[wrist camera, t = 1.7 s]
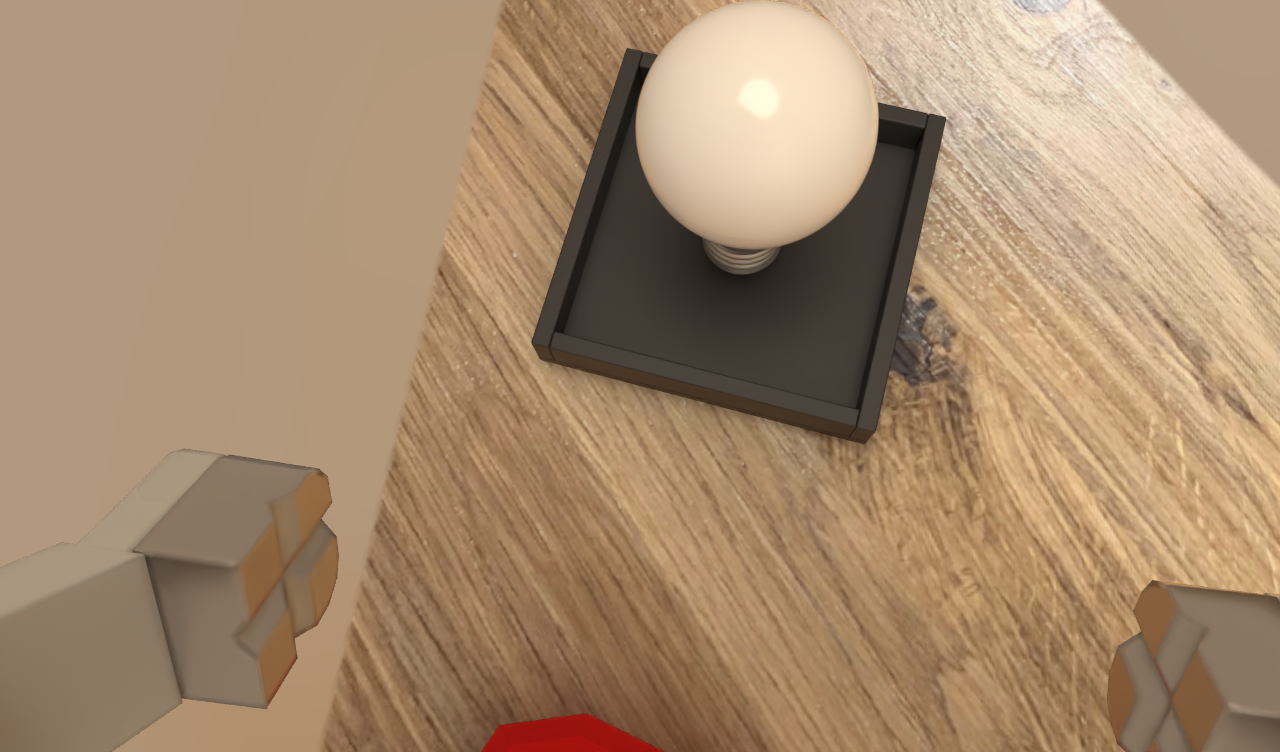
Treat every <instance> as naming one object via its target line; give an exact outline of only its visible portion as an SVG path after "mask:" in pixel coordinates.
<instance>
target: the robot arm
mask: <svg viewBox="0 0 1280 752" xmlns="http://www.w3.org/2000/svg"><path fill="white" fill-rule="evenodd" d="M331 503H332V498H331V493H330V487H329V481H328V476H327V475H325V474H324V473H323V472H322V471H321V470H320V469H317V468H311V467H305V466H298V465H292V464H285V463H279V462H273V461H265V460H260V459H253V458H247V457H240V456H234V455H228V456H226V455H223V454H217V453H211V452H204V451H197V450H190V449H182V450H178V451H174V452H171V453H169V454H168V455H167V456H166V457H165V458H164V459H163V460H162V461H161V462H160V463H159V464H158V465H157V466H156V467H155V468H154V469H153V470H152V471H151V472H150V473H149V474H148V475H147V476H146V477H145V478H144V479H143V480H142V481H141V482H140V483H139V484H138V485H137V486H136V487H134V488H133V489H132V491H130V493H128V494H127V495H126V496H125V497H124V498H123V500H121V501H120V502H119V503H118V504H117V505H116V506H115V507H114V508H113V509H112V510H111V511H110V512H109V513H108V514H107V515H106V516H105V517H104V518H103V519H102V520H101V521H100V522H99V523H98V524H97V525H96V526H95V527H94V528H93V529H92V530H91V531H90V532H89V533H88V534H87V535H86V536H85V537H84V538H83V539H82V540H80V541H79V542H78V543H77V544H70V543H63V542H61V543H59V544H57V545H54V546H52V547H49V548H47V549H44V550H42V551H39V552H37V553H34V554H32V555H29V556H27V557H24V558H22V559H19V560H17V561H14V562H12V563H9V564H7V565H4V566H2V567H0V752H112V751H114V750H115V749H116V748H118V747H120V746H121V745H123V744H124V743H125V742H126V741H128V740H129V739H131V738H132V737H134V736H135V735H137V734H138V733H140V732H141V731H143V730H144V729H145V728H147V727H148V726H150V725H151V724H153V723H154V722H156V721H157V720H158V719H160V718H161V717H163V716H164V715H166V714H167V713H169V712H170V711H171V710H173V709H174V708H176V707H177V706H178V705H180V704H181V703H182V698H184V699H191V700H199V701H207V702H215V703H223V704H230V705H238V706H246V707H254V708H262V709H267V707H268V705H269V704H270V702H271V700H272V699H273V697H274V696H275V694H276V692H277V691H278V689H279V687H280V686H281V684H282V682H283V681H284V679H285V678H286V676H287V674H288V672H289V671H290V669H291V668H292V666H293V664H294V663H295V661H296V660H297V652H296V646H295V639H294V638H296V637H298V636H299V635H301V634H303V633H305V632H306V631H308V630H310V629H312V628H313V627H315V626H317V625H318V623H319V621H320V619H321V618H322V616H323V614H324V612H325V611H326V609H327V607H328V605H329V603H330V599H331V596H332V593H333V590H334V587H335V583H336V579H337V573H338V559H339V554H338V545H337V537H336V535H335V534H334V533H333V532H332V531H331V530H330V528H329V527H328V526H327V525H326V524H325V523H324V521H323V520H322V519H321V518H322V517H323V515H324V514H325V512H326V511H327V509H328V508H329V506H330V505H331ZM1133 612H1134V615H1135V617H1136V619H1137V622H1138V624H1139V627H1140V629H1141V632H1140V633H1138V634H1137V635H1135V636H1133V637H1132V638H1130V639H1129V640H1127V641H1125V642H1124V643H1122V644H1121V645H1119V646H1118V649H1117V652H1116V654H1115V657H1114V660H1113V662H1112V665H1111V668H1110V671H1109V679H1108V692H1107V704H1108V711H1109V718H1110V723H1111V726H1112V729H1113V732H1114V735H1115V738H1116V741H1117V744H1118V745H1119V746H1120V747H1121V748H1122V749H1123V750H1124V751H1125V752H1280V594H1271V593H1265V594H1257V593H1249V592H1241V591H1233V590H1226V589H1218V588H1210V587H1202V586H1194V585H1187V584H1179V583H1171V582H1163V581H1155V580H1152V581H1151V582H1150V584H1149V585H1148V586H1147V587H1146V588H1145V589H1144V590H1143V591H1142V592H1141V595H1140V597H1139V599H1138V601H1137V604H1136V606H1135V608H1134V610H1133Z"/></svg>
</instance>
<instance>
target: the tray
mask: <svg viewBox="0 0 1280 752" xmlns="http://www.w3.org/2000/svg"><path fill="white" fill-rule="evenodd" d="M657 56H658V55H656V54H651V53H647V52H644V53H643V52H642V51H638V50H634V49H629V48H627V49H626V52H625V55H624V58H623V62H622V65H621V68H620V71H619V74H618V77H617V80H616V83H615V86H614V89H613V92H612V95H611V99H610V102H609V105H608V108H607V111H606V114H605V117H604V120H603V123H602V126H601V129H600V132H599V136H598V139H597V142H596V145H595V148H594V151H593V154H592V157H591V160H590V163H589V166H588V169H587V173H586V176H585V179H584V182H583V185H582V188H581V191H580V194H579V197H578V200H577V203H576V206H575V210H574V213H573V216H572V219H571V222H570V225H569V228H568V231H567V234H566V237H565V240H564V243H563V247H562V250H561V253H560V256H559V259H558V262H557V265H556V268H555V271H554V274H553V277H552V280H551V284H550V287H549V290H548V293H547V296H546V299H545V302H544V305H543V308H542V311H541V314H540V317H539V321H538V324H537V327H536V330H535V333H534V336H533V339H532V345H533V347H534V348H535V350H536V352H537V354H538V356H539V358H540V359H541V360H544V361H548V362H552V363H556V364H560V365H564V366H567V367H571V368H575V369H579V370H583V371H587V372H590V373H594V374H598V375H602V376H606V377H610V378H613V379H617V380H621V381H625V382H629V383H633V384H636V385H640V386H644V387H648V388H652V389H656V390H659V391H663V392H667V393H671V394H675V395H679V396H682V397H686V398H690V399H694V400H698V401H702V402H705V403H709V404H713V405H717V406H721V407H725V408H728V409H732V410H736V411H740V412H744V413H748V414H751V415H755V416H759V417H763V418H767V419H771V420H774V421H778V422H782V423H786V424H790V425H794V426H797V427H801V428H805V429H809V430H813V431H817V432H820V433H824V434H828V435H832V436H836V437H840V438H843V439H847V440H851V441H855V442H859V443H863V444H865V443H866V442H867V441H868V439H869V438H870V437H871V436H872V435H873V434H874V433H875V431H876V427H877V423H878V419H879V414H880V410H881V405H882V401H883V396H884V392H885V388H886V383H887V379H888V374H889V370H890V365H891V361H892V357H893V352H894V348H895V343H896V339H897V334H898V330H899V326H900V321H901V317H902V312H903V308H904V303H905V299H906V295H907V290H908V286H909V281H910V277H911V272H912V268H913V264H914V259H915V255H916V250H917V246H918V241H919V237H920V233H921V228H922V224H923V219H924V215H925V210H926V206H927V202H928V197H929V193H930V188H931V184H932V179H933V175H934V171H935V166H936V162H937V157H938V153H939V148H940V144H941V140H942V135H943V131H944V126H945V122H946V117H943V116H938V115H934V114H929V115H928V114H927V113H923V112H919V111H914V110H910V109H905V108H900V107H896V106H891V105H886V104H882V103H878V112H879V129H878V138H877V144H876V149H875V153H874V157H873V160H872V163H871V166H870V169H869V171H868V173H867V175H866V178H865V180H864V182H863V183H862V185H861V187H860V189H859V190H858V192H857V193H856V195H855V196H854V198H853V199H852V200H851V201H850V203H849V204H848V205H847V206H846V207H845V209H844V210H843V211H842V212H841V213H840V214H839V215H838V216H836V217H835V218H834V219H833V220H832V221H831V222H830V223H828V224H827V225H826V226H824V227H823V228H821V229H820V230H818V231H817V232H815V233H813V234H811V235H809V236H807V237H805V238H803V239H801V240H799V241H796V242H793V243H790V244H787V245H783V246H781V248H780V251H779V253H778V255H777V257H776V258H775V260H774V261H773V262H772V263H771V264H770V265H768V266H767V267H766V268H764V269H762V270H760V271H758V272H755V273H752V274H745V275H740V274H733V273H729V272H726V271H724V270H722V269H721V268H719V267H718V266H716V265H715V264H714V263H713V262H712V261H711V260H710V259H709V257H708V256H707V254H706V252H705V250H704V246H703V241H702V237H700V236H698V235H696V234H695V233H693V232H691V231H690V230H688V229H687V228H685V227H684V226H683V225H681V224H680V223H679V222H678V221H677V220H675V219H674V218H673V217H672V216H671V215H670V214H669V213H668V212H667V211H666V209H665V208H664V207H663V206H662V205H661V203H660V202H659V201H658V199H657V198H656V196H655V195H654V193H653V191H652V190H651V188H650V186H649V184H648V182H647V180H646V177H645V175H644V173H643V170H642V167H641V163H640V160H639V156H638V151H637V145H636V133H635V124H636V112H637V106H638V101H639V97H640V93H641V90H642V87H643V84H644V81H645V79H646V76H647V74H648V72H649V70H650V68H651V66H652V64H653V63H654V61H655V59H656V58H657Z"/></svg>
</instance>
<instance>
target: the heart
mask: <svg viewBox="0 0 1280 752" xmlns="http://www.w3.org/2000/svg"><path fill="white" fill-rule="evenodd" d="M482 752H664V751H662V750H660V749H658V748H656V747H654V746H652V745H650V744H648V743H646V742H644V741H642V740H640V739H638V738H636V737H634V736H632V735H630V734H628V733H626V732H624V731H622V730H620V729H618V728H616V727H614V726H612V725H610V724H608V723H606V722H604V721H602V720H600V719H598V718H596V717H594V716H592V715H590V714H578V715H571V716H564V717H557V718H550V719H542V720H535V721H528V722H521V723H514V724H507V725H499V727H498V728H497V730H496V731H495V733H494V734H493V736H492V737H491V738H490V740H489V741H488V743H487V744H486V746H485V747H484V749H483V750H482Z"/></svg>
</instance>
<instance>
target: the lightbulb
mask: <svg viewBox="0 0 1280 752" xmlns="http://www.w3.org/2000/svg"><path fill="white" fill-rule="evenodd" d="M878 129H879V112H878V103H877V97H876V92H875V88H874V84H873V81H872V78H871V76H870V73H869V71H868V68H867V66H866V64H865V62H864V61H863V59H862V57H861V55H860V54H859V52H858V51H857V49H856V48H855V47H854V45H853V44H852V43H851V42H850V41H849V39H848V38H847V37H846V36H845V35H844V34H843V33H842V32H841V31H840V30H839V29H838V28H836V27H835V26H834V25H833V24H831V23H830V22H829V21H827V20H826V19H824V18H823V17H821V16H820V15H818V14H816V13H814V12H812V11H810V10H808V9H806V8H803V7H800V6H797V5H794V4H791V3H786V2H782V1H775V0H746V1H740V2H735V3H731V4H727V5H724V6H721V7H718V8H715V9H713V10H711V11H709V12H707V13H705V14H703V15H701V16H699V17H698V18H696V19H694V20H693V21H691V22H690V23H689V24H687V25H686V26H685V27H683V28H682V29H681V30H680V31H679V32H678V33H677V34H676V35H675V36H674V37H673V38H672V39H671V40H670V41H669V42H668V43H667V44H666V45H665V47H664V48H663V49H662V50H661V52H660V53H659V55H658V56H657V58H656V59H655V61H654V63H653V64H652V66H651V68H650V70H649V72H648V74H647V76H646V79H645V81H644V84H643V87H642V90H641V93H640V97H639V101H638V106H637V112H636V124H635V133H636V145H637V151H638V156H639V160H640V163H641V167H642V170H643V173H644V175H645V177H646V180H647V182H648V184H649V186H650V188H651V190H652V191H653V193H654V195H655V196H656V198H657V199H658V201H659V202H660V203H661V205H662V206H663V207H664V208H665V209H666V211H667V212H668V213H669V214H670V215H671V216H672V217H673V218H674V219H675V220H677V221H678V222H679V223H680V224H681V225H683V226H684V227H685V228H687V229H688V230H690V231H691V232H693V233H695V234H696V235H698V236H700V237H702V241H703V246H704V250H705V252H706V254H707V256H708V257H709V259H710V260H711V261H712V262H713V263H714V264H715V265H716V266H718V267H719V268H721V269H722V270H724V271H726V272H729V273H733V274H740V275H745V274H752V273H755V272H758V271H760V270H762V269H764V268H766V267H767V266H768V265H770V264H771V263H772V262H773V261H774V260H775V258H776V257H777V255H778V253H779V251H780V248H781V246H783V245H787V244H790V243H793V242H796V241H799V240H801V239H803V238H805V237H807V236H809V235H811V234H813V233H815V232H817V231H818V230H820V229H821V228H823V227H824V226H826V225H827V224H828V223H830V222H831V221H832V220H833V219H834V218H835V217H836V216H838V215H839V214H840V213H841V212H842V211H843V210H844V209H845V207H846V206H847V205H848V204H849V203H850V201H851V200H852V199H853V198H854V196H855V195H856V193H857V192H858V190H859V189H860V187H861V185H862V183H863V182H864V180H865V178H866V175H867V173H868V171H869V169H870V166H871V163H872V160H873V157H874V153H875V149H876V144H877V138H878Z"/></svg>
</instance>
